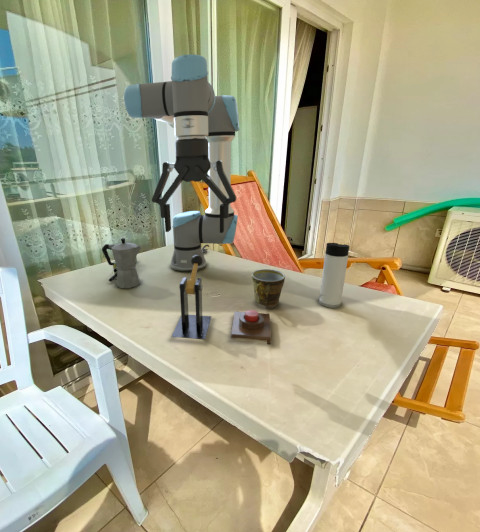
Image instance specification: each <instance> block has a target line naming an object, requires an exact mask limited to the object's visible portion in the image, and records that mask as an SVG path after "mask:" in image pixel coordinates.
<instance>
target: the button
mask: <svg viewBox="0 0 480 532" xmlns="http://www.w3.org/2000/svg"><path fill="white" fill-rule="evenodd" d="M244 312H245V320H247V321H250V322H255V321H258V316H259V313H260V312H258V311H257V310H254V309H248V310H246V311H244Z"/></svg>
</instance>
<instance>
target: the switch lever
mask: <svg viewBox="0 0 480 532" xmlns="http://www.w3.org/2000/svg"><path fill="white" fill-rule="evenodd" d="M191 263H192V265H193V270H192V271H191V274H190V278H189V279H187V284H186V293H187V294H188V295H195V283H196V281H197V280H196V277H197V273H198V270H197V268H198V266H200V265H201V264H202V263H203V259H202V257H201V256H200V255H194V256H193V257H192V258H191Z"/></svg>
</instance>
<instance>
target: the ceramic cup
mask: <svg viewBox="0 0 480 532" xmlns="http://www.w3.org/2000/svg"><path fill="white" fill-rule="evenodd" d="M251 280H252V281H251V282H252V286H253V292H254V300H255V302H257V304H259V305H263V306H264V309H274V308H276V306H277V305H278V304H279V301H280V298H281V294H282V290H283V287H284V284H285V280H286V275H285V274H284V272H281V271H279V270H276V269H271V268H270V269H268V268H265V269H263V268H262V269H258V270H254V271H253V272H252V273H251Z"/></svg>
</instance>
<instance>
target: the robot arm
mask: <svg viewBox="0 0 480 532" xmlns="http://www.w3.org/2000/svg"><path fill="white" fill-rule="evenodd" d="M208 75H209V71H208V61H207V59H206V58H205V56H203V55H200V54H192V53H191V54H182V55H178V56H176V57H175V58H174V59H172V62H171V76H170V79H171V80H169V81H158V82H145V83H139V82H138V83H134V84H129V85H126V87H125V89H124V91H123V102H124V107H125V110H126V113H127V115H128V116H129V117H131V118H132V119H144V118H150V119H153V120H156V121H159V122H163V123H166V124H168V125H169V126H170V127H171V128H172V129H173V130H174V137H175V138H177V139H176V140H175V142H174V147H175V148H174V149H175V150H174V151H175V161H174V162H169V161H164V162H163V163H162V169H161V171H162V172H161V175H160V177H159V179H158V182H157V185H156V186H155V187H156V188H155V190H154V193H153V195H152V198H151V202H152V203H154V204H157V205H159V213H160V218H161V219H164V231H165V233H169V232H170V231H171V230H172V235H173V252H172V256H171V260H170V267H171V269H172V270H174V271H177V272H188V273H189V272H192V270H193V265H192V263H191V258H192V257H193V256H194V255H200V256H201V257H202V259H203V263H202V264H201V265H200V266H198V268H197V271H200V270H202V269H204V268H205V267H206V266H207V260H206V257H205V255H204V254H206V253H207V249H205V248H206V247H208V248H209V247H210V245H209V244H214V245H215V244H217V245H219V244H220V245H227V244H229V245H230V244H233V243H234V241H235V237H236V231H237V225H238V218H239V216H238V215H237V214H235V210H234V209H233V207H231V206H232V205H231V204H232V203H235V202H236V201H237V195H236V193H235V191H234V190H233V187H232V184H231V183H232V182H231V180H232V179H231V178H232V177H231V174H232V169H231V168H232V141H233V140H234V139H235V138H236V132H239V131H240V118H239V109H238V102H237V99H236V97H235V96H234V95H223V94H222V95H215V94H216V93H215V89H214V88H213V85H212V84H211V83H210V82H209V79H208ZM173 170H175V171H176V173H177V176H176V177H175V179H174V181H173V182H172V184H170V186H169V187H168V189H167V190H166V192H165V193H164V194H163V192H164V189H165V187H166V184H167V182H168V180H169V177H170V173H173ZM201 181H202V182H203V183H204V184H205V185H206V186H207V187H208V208H206V209H205V211H204V212H205V213H204V214H201V211H200V210H189V211H184V212H180V213H178V214H175V215H174V216H173V218H171V203H168V202H169V200H170V198H171V197H172V196H173V194H174V193H175V192H176V191H177V189H178V188H179V186H180V185H181V183H182V182H186V183H190V182H194V183H195V182H196V183H200V182H201ZM162 194H163V196H162ZM161 196H162V197H161ZM171 219H172V220H171ZM202 244H204V246H202Z"/></svg>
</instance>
